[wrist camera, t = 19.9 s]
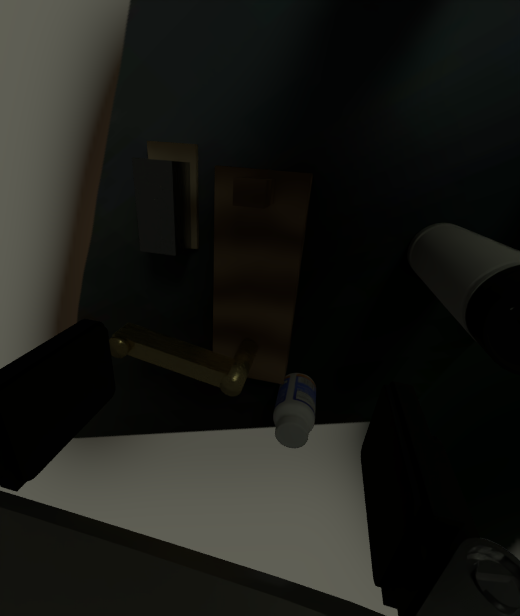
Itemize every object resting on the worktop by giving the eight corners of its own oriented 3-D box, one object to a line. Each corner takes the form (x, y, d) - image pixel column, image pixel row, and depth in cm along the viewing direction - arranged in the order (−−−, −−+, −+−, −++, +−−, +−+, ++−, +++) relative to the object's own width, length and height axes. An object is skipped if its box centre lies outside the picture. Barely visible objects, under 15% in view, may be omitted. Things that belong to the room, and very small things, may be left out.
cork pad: (149, 141, 36) (146, 140, 35) (197, 144, 35) (195, 144, 35) (156, 242, 41) (154, 243, 40) (198, 248, 40) (197, 249, 40)
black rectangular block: (154, 159, 36) (132, 157, 32) (189, 162, 35) (171, 160, 31) (159, 243, 40) (140, 251, 36) (191, 247, 40) (175, 255, 36)
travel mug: (425, 289, 36) (519, 402, 18) (396, 244, 35) (466, 319, 17) (480, 259, 34) (652, 356, 16) (451, 210, 33) (601, 254, 15)
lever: (260, 342, 39) (243, 384, 31) (255, 357, 40) (238, 401, 32) (149, 304, 40) (106, 335, 32) (147, 320, 41) (105, 353, 33)
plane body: (226, 166, 35) (196, 164, 27) (313, 173, 34) (308, 173, 26) (221, 355, 46) (198, 394, 38) (287, 367, 45) (277, 410, 37)
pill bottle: (285, 403, 47) (276, 454, 39) (275, 374, 46) (263, 421, 37) (320, 398, 46) (318, 451, 37) (311, 368, 44) (307, 417, 35)
